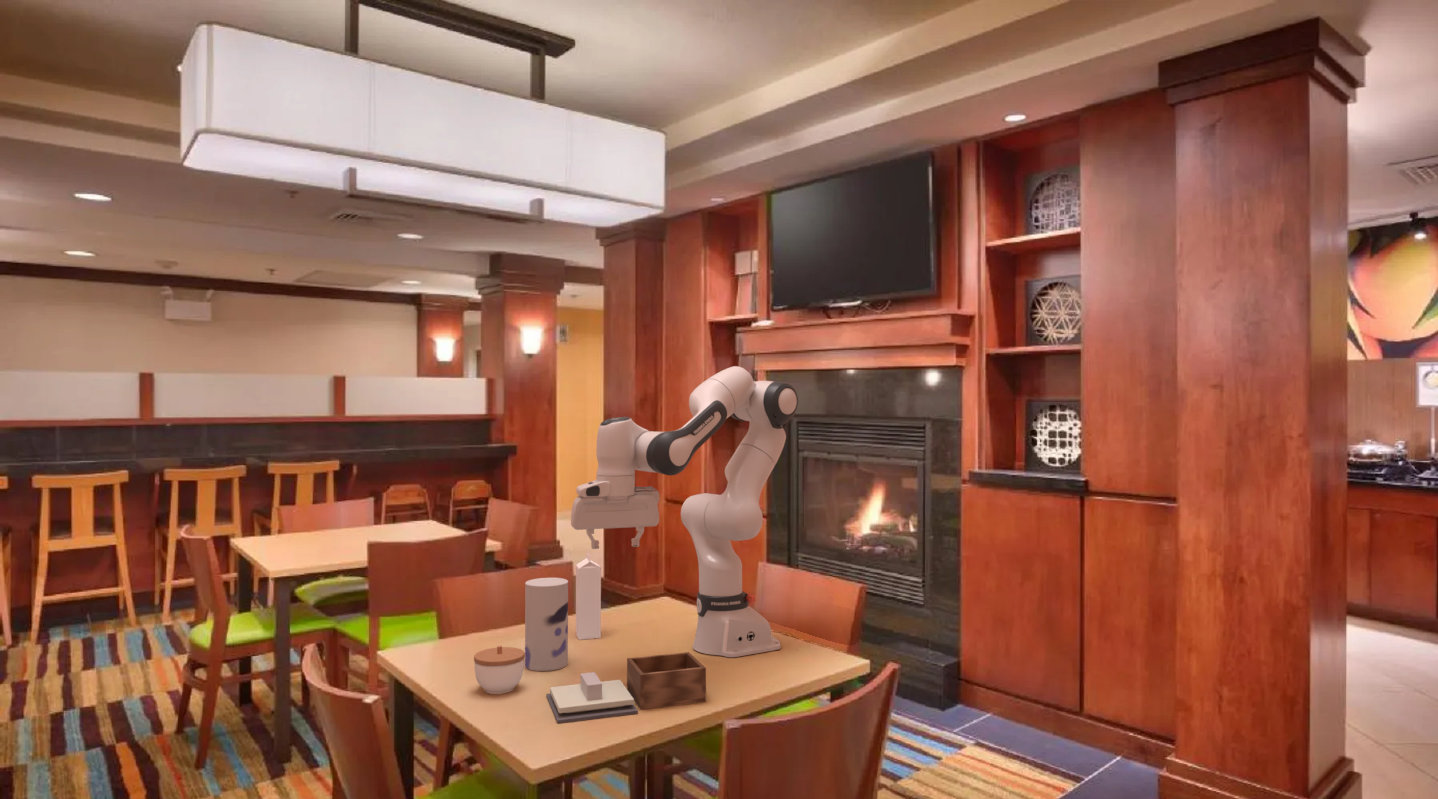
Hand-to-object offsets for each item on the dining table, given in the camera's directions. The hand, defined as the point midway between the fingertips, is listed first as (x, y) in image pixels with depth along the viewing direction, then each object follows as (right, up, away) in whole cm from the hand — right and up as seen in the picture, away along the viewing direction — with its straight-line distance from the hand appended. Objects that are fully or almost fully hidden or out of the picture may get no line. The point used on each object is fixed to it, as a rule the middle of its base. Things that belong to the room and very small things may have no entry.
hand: (615, 547), depth 191 cm
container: (-17, -29, +6) cm, 35 cm away
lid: (-2, -28, -20) cm, 35 cm away
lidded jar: (-24, -29, -11) cm, 39 cm away
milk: (-11, -30, +32) cm, 45 cm away
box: (+13, -29, -15) cm, 35 cm away
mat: (-2, -29, -20) cm, 35 cm away
